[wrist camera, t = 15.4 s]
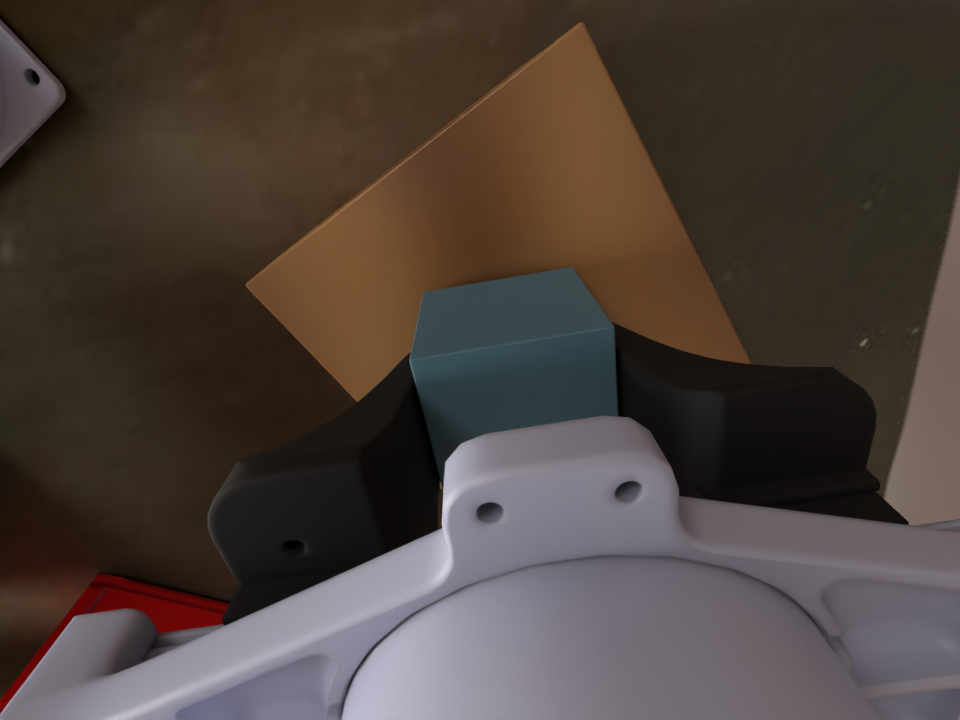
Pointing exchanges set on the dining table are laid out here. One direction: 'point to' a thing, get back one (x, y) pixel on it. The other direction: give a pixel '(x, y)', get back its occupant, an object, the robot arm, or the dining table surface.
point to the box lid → (503, 226)
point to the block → (511, 357)
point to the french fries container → (121, 593)
